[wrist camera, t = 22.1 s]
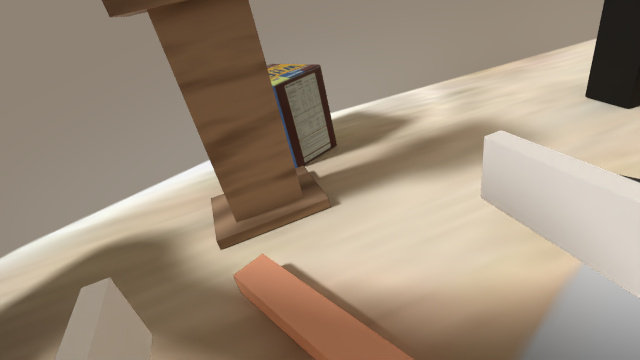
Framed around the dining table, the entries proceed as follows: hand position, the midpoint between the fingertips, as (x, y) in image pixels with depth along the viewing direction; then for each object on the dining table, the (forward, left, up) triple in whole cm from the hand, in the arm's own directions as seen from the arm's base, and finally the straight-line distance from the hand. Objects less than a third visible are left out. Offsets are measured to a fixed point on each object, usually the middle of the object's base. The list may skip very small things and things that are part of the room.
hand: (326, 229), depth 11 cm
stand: (+16, +31, -20) cm, 41 cm away
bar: (+5, +9, -21) cm, 23 cm away
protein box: (+32, +42, -20) cm, 57 cm away
